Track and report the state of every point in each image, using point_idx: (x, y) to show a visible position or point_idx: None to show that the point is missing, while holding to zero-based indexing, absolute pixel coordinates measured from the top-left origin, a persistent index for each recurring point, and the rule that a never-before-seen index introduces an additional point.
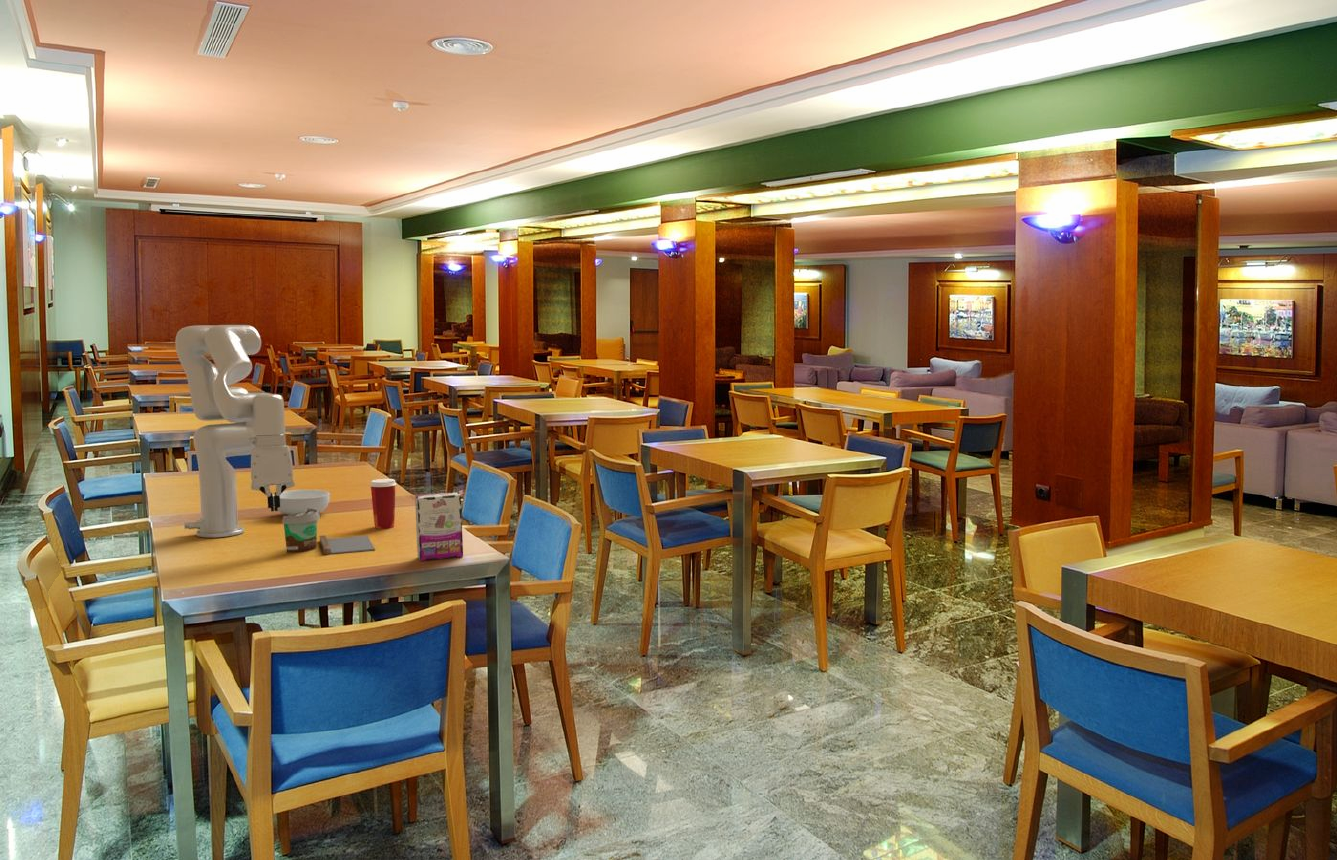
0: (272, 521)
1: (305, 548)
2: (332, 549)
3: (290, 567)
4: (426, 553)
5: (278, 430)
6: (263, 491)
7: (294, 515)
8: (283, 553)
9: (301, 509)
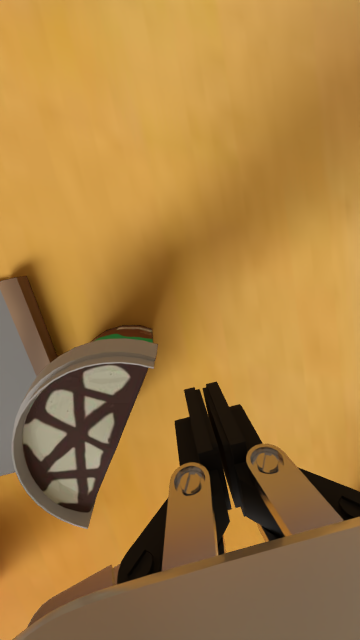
0: None
1: (98, 336)
2: (14, 327)
3: (89, 104)
4: None
5: None
6: (323, 489)
7: (118, 424)
8: (159, 319)
9: None
